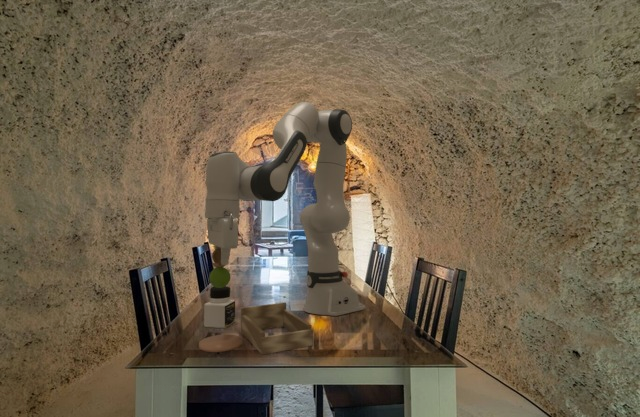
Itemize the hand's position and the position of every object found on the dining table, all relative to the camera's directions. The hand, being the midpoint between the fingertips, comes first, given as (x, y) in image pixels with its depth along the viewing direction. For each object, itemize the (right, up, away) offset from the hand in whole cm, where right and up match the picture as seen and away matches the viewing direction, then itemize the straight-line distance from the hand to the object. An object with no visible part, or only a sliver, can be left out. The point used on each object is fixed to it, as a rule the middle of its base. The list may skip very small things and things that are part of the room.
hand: (221, 263), depth 95 cm
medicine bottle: (-5, -22, +17) cm, 29 cm away
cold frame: (+14, -22, +5) cm, 26 cm away
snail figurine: (0, -7, -1) cm, 7 cm away
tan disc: (0, -22, 0) cm, 22 cm away
